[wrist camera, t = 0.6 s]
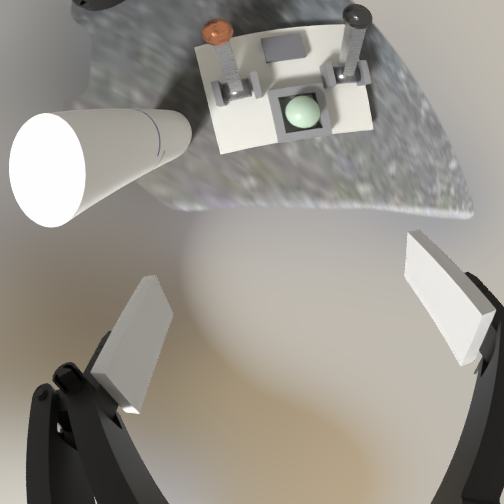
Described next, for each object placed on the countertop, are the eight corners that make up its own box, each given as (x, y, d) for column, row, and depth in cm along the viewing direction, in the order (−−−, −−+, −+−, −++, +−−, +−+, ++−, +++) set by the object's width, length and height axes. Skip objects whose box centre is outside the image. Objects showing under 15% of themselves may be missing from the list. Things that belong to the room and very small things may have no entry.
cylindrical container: (195, 112, 33) (89, 110, 11) (188, 162, 37) (87, 235, 14) (146, 108, 33) (10, 117, 11) (141, 157, 36) (13, 219, 14)
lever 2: (328, 72, 28) (338, -2, 16) (350, 71, 28) (368, -1, 15) (335, 89, 28) (350, 14, 16) (358, 87, 28) (380, 15, 15)
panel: (198, 51, 29) (188, 41, 24) (344, 29, 27) (357, 17, 22) (223, 152, 36) (216, 157, 31) (366, 128, 33) (382, 131, 28)
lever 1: (225, 89, 30) (195, 18, 17) (249, 84, 30) (229, 10, 17) (228, 106, 30) (197, 35, 17) (253, 101, 29) (233, 26, 17)
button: (281, 100, 29) (283, 98, 26) (311, 96, 28) (316, 94, 26) (287, 129, 30) (290, 130, 28) (317, 124, 30) (322, 125, 27)
